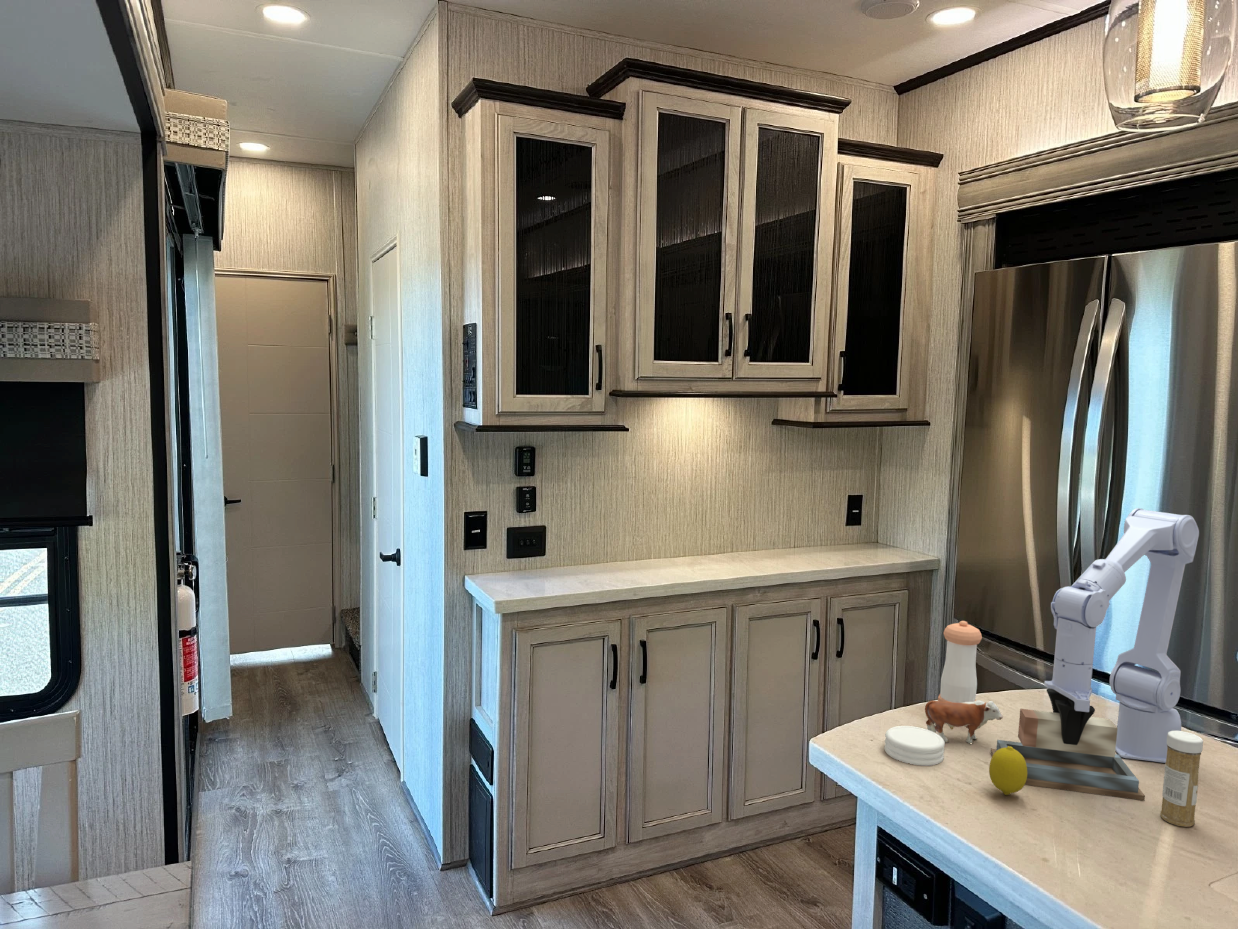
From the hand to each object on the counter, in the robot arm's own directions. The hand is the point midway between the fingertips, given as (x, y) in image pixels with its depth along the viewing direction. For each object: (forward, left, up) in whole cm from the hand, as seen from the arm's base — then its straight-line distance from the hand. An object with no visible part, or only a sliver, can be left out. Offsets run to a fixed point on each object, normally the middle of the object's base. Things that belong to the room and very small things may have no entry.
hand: (1066, 738), depth 147 cm
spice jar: (-13, +12, -7) cm, 19 cm away
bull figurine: (+15, -10, -7) cm, 19 cm away
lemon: (+11, +11, -7) cm, 17 cm away
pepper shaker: (+14, -23, -7) cm, 28 cm away
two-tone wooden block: (0, 0, -2) cm, 2 cm away
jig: (0, 0, -6) cm, 6 cm away
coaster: (+24, -1, -7) cm, 25 cm away
